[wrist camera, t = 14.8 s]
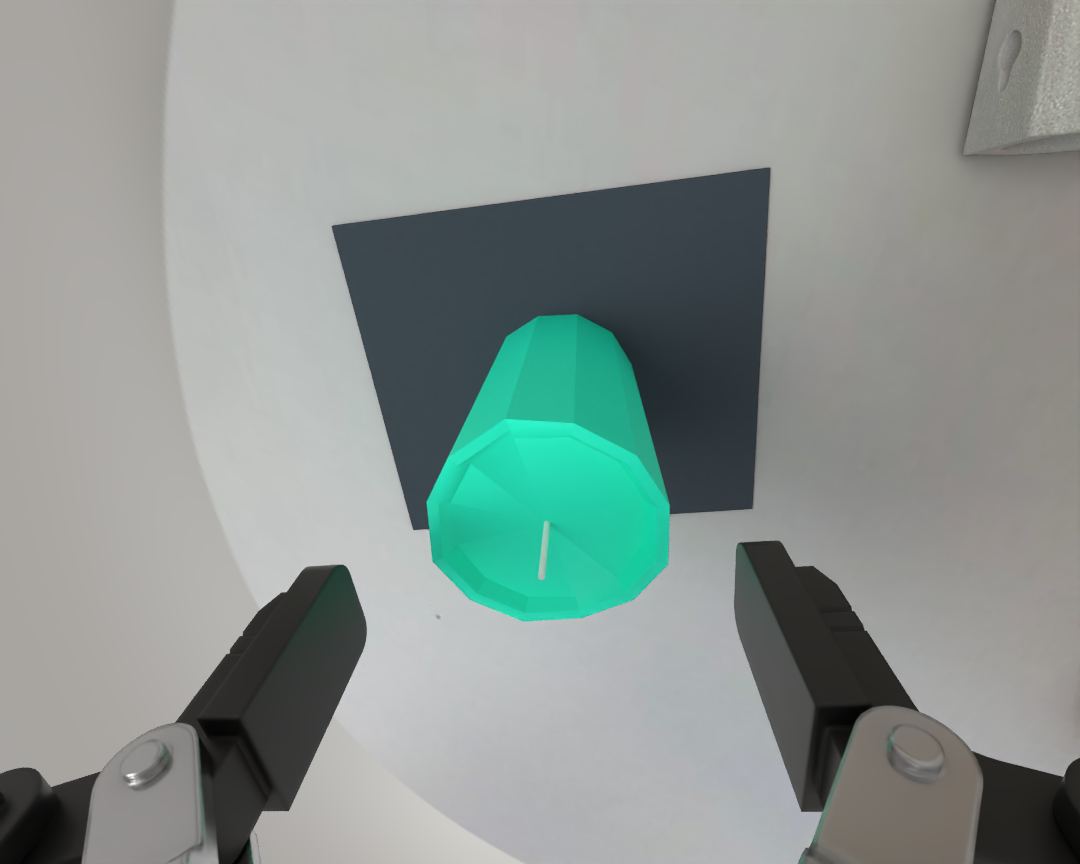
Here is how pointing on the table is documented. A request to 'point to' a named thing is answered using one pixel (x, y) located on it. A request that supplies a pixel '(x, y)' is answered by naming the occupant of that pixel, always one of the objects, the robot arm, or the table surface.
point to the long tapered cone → (1028, 81)
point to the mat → (575, 288)
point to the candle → (553, 480)
